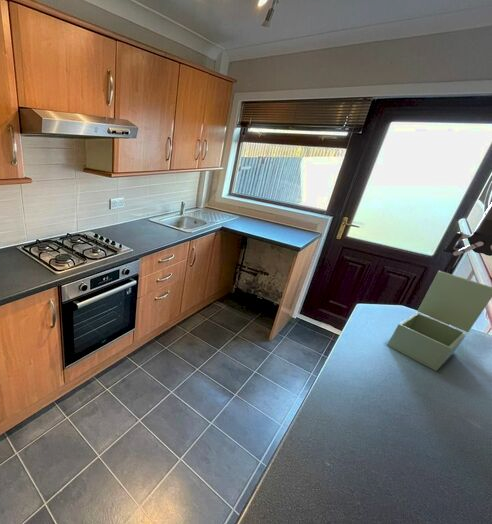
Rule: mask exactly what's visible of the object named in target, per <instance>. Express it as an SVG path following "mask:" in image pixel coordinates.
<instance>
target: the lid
mask: <svg viewBox="0 0 492 524" xmlns="http://www.w3.org/2000/svg"><path fill="white" fill-rule="evenodd" d="M491 299H492V286H490V285H487V284H483V283H480V282H477V281H473V280H472V279H471V280H470V279H468V278H465V277H461V276H457V275H456V274H451V273H449V272H446V271H443V270H438V271H437V273H436V275H435V276H434V279H433V281H432V282H431V284H430V285H429V288H428V290H427V292H426V293H425V296H424V297H423V299H422V301H421V304H420V305H419V307H418V309H417V312H418V313H421V314H423V315H425V316H428V317H432V318H435V319H437V320H440V321H442V322H444V323H447V324H449V326H452V327H454V328H456V329H459V330H461V331H464V332H466V333H469V332H470V330H471V329H472V327H473V326H475V325H474V324H475V323H476V322H477V320H478V319H479V317H480V316H481V315H482V313H483V311H484V310H485V309H486V307H487V305H488V304H489V303H490V301H491Z"/></svg>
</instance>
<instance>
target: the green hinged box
mask: <svg viewBox="0 0 492 524" xmlns="http://www.w3.org/2000/svg"><path fill="white" fill-rule="evenodd" d="M467 335H468V332H466V331H463V330H461V329H459V328H456V327H454V326H451V325H447V324H444V323H442V322H440V321H437V320H435V319H433V318H430V316H428V315H425V314H423V313H420V312H418V311H416V312H415V313H413V314H412V315H410V316H408V318H406V319H404V320H403V321H401V322H400V323H398V324H397V326H396V328H395V330H394V332H393V333H392V335H391V337H390V339H389V340H388V343H387V345H386V346H387V347H389V348H392V349H394V350H396V351H398V352H400V353H401V354H403V355H405V356H407V357H409V358H411V359H413V360H415V361H417V362H418V363H420V364H422V365H424V366H426V367H428V368H430V369H432V370H434V371H436V372H437V371H438V370H439V369H440V368H441V367H442V366H443V365H444V364H445V363H446V362H447V361H448V360H449V359H450V358H451V357H452V356H453V355H454V353H455V352H456V351H457V349H458V348H459V346H460V345H461V343H462V342H463V341H464V339H465V337H466V336H467Z"/></svg>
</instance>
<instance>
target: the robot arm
mask: <svg viewBox="0 0 492 524" xmlns="http://www.w3.org/2000/svg"><path fill="white" fill-rule="evenodd" d="M464 240H467V241H468V244H469V245H467V246H465V247H462V248H460V249H457V248H456V247H457V245H458V244H459V242H462V241H464ZM445 251H446V252H448V253H450V254H451V257H450V258H449V261H448V262H447V265H448V266H449V268H451V269H454V268H455V266H456V265H457V263H458V261H459V259H460V258H461V255H462V254H465V253H468V252H470V251H473V252H474V253H477V254H483V255H485V256H489V257H492V203H490V205H489V206H488V207H487V209H486V211H485V212H484V213H483V216H482V218H481V220H480V221H479V223H478V224H477V226H476V228H475V229H474V231H473V233H472V234H471V235H470V234H467V233H464V232H463V231H459V232H456V233H455V234H454V236H453V238H452V239H451V240H450V242H449V243H448V245H447V247H446V248H445ZM490 279H491V280H492V276H491V278H490Z"/></svg>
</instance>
